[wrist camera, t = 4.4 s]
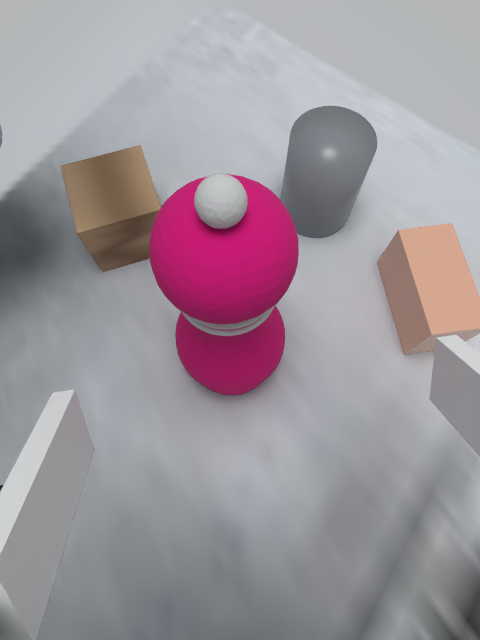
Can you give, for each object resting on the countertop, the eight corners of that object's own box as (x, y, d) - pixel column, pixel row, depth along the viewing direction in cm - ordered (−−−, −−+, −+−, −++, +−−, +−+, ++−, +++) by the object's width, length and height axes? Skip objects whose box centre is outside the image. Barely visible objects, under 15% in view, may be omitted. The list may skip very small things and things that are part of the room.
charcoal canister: (286, 242, 35) (299, 179, 28) (274, 184, 37) (282, 111, 30) (356, 232, 36) (387, 168, 28) (339, 175, 38) (364, 101, 30)
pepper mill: (254, 296, 34) (271, 71, 15) (295, 377, 31) (379, 233, 12) (170, 332, 32) (74, 140, 14) (207, 418, 30) (152, 329, 11)
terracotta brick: (403, 355, 32) (431, 335, 27) (376, 262, 35) (398, 230, 30) (453, 348, 32) (490, 326, 28) (423, 256, 35) (452, 223, 30)
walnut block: (103, 272, 34) (76, 233, 29) (88, 213, 36) (60, 165, 31) (173, 251, 35) (161, 209, 29) (155, 194, 37) (140, 145, 31)
